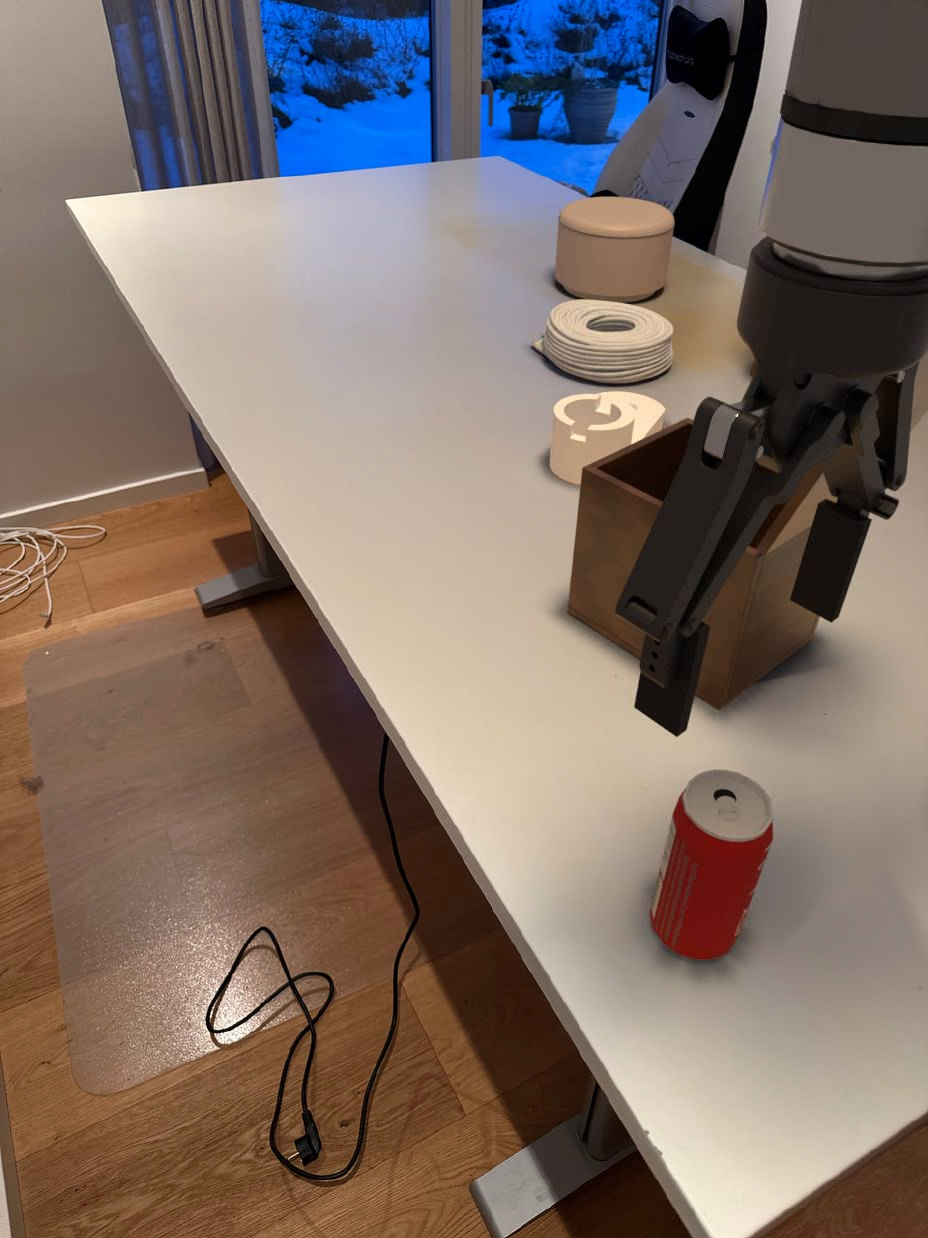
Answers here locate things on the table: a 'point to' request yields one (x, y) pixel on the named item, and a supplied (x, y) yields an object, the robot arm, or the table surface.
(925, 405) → the lid
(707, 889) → the soda can
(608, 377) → the cable
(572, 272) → the container
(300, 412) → the table surface
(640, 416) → the bracket
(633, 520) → the bin
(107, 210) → the table surface
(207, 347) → the table surface
